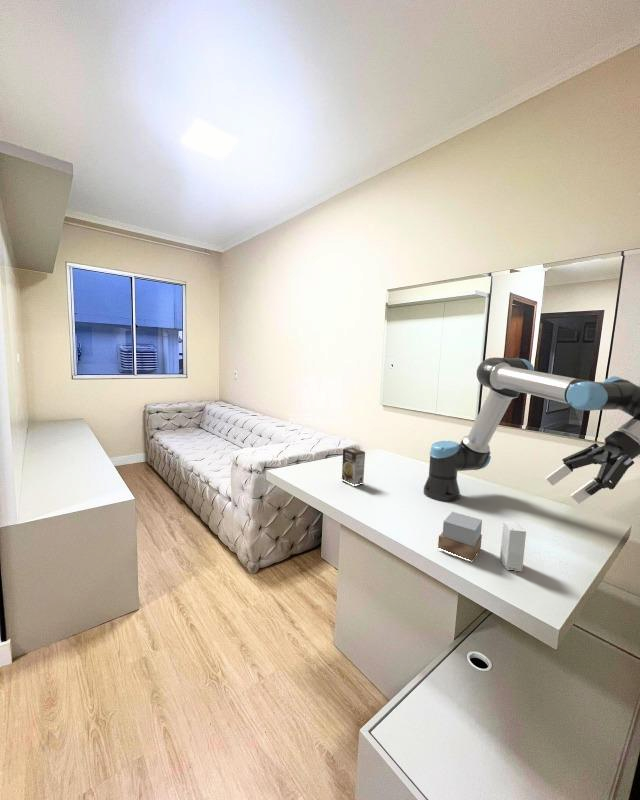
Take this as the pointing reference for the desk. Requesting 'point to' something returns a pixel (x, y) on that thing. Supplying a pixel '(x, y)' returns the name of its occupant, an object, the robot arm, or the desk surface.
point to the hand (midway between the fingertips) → (560, 490)
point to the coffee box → (353, 465)
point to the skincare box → (512, 546)
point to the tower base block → (459, 547)
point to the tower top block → (462, 528)
